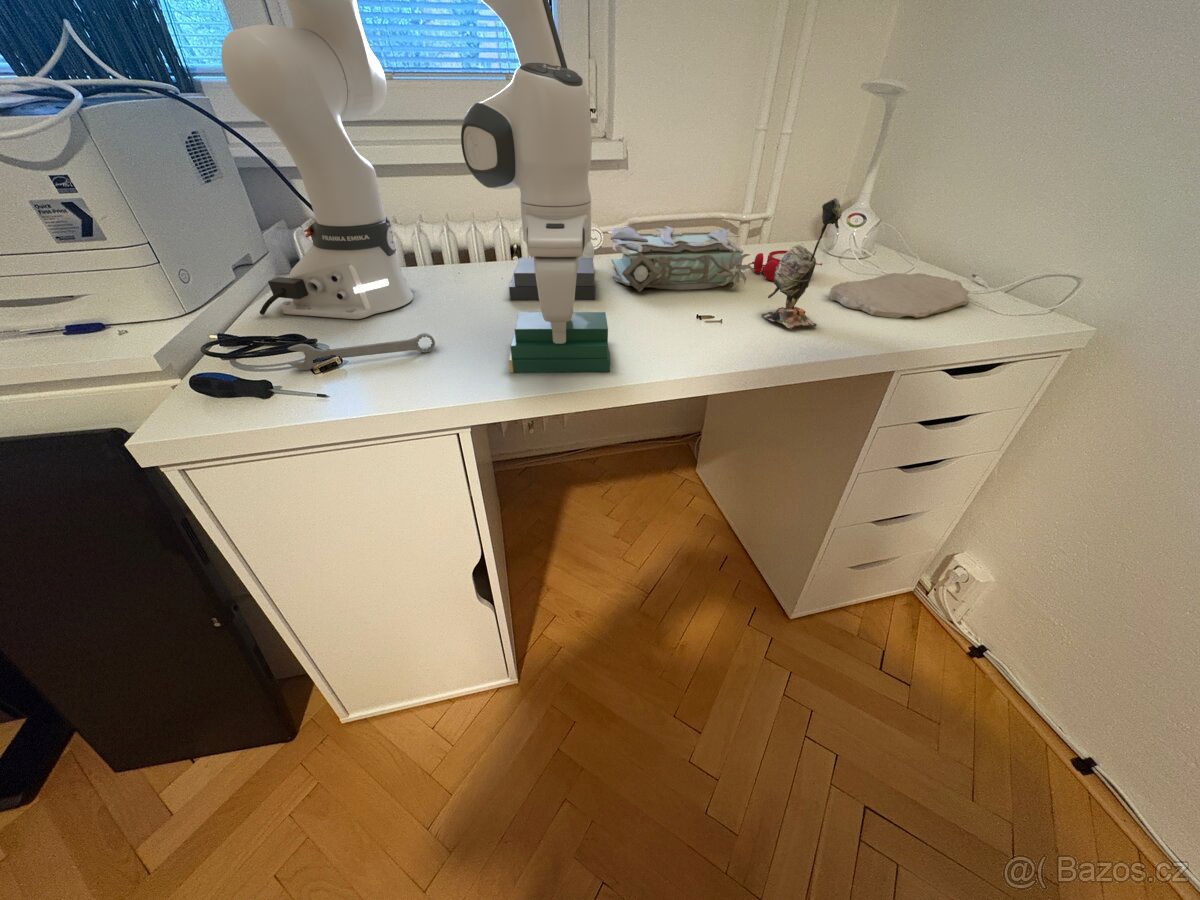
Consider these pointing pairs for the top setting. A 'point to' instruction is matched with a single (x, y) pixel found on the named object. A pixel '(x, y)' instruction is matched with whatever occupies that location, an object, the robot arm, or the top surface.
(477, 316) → the top surface
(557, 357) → the green rectangular block
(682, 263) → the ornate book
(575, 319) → the green book
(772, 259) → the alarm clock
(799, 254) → the plant with pod
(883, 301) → the stone tablet
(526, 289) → the grey books
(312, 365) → the combination wrench
